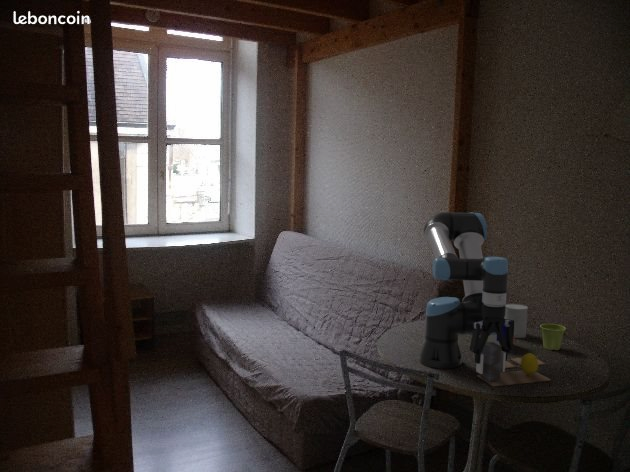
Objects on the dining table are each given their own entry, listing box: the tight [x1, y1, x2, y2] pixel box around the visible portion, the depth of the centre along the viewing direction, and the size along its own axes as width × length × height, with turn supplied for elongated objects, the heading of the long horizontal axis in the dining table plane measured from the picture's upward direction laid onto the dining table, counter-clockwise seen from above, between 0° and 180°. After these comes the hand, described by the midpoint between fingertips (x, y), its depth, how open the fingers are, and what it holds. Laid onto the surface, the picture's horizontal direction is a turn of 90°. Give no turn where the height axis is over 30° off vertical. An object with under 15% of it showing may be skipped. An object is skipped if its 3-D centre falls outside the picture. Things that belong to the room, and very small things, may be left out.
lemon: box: [520, 352, 539, 376], centre depth 197 cm, size 6×6×8 cm
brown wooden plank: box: [505, 357, 547, 369], centre depth 211 cm, size 22×8×1 cm, turn 106°
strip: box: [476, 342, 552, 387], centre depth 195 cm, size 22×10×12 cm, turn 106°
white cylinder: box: [504, 303, 529, 339], centre depth 247 cm, size 10×10×12 cm
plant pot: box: [539, 323, 567, 351], centre depth 229 cm, size 9×9×9 cm
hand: (490, 371), depth 193 cm, fingers open, 8 cm apart
